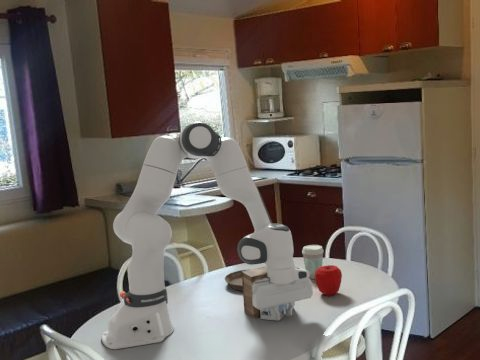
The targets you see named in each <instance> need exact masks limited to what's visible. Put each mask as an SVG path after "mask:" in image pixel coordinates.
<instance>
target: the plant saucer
mask: <svg viewBox="0 0 480 360" xmlns="http://www.w3.org/2000/svg"><path fill="white" fill-rule="evenodd" d="M250 269H251V268H250ZM250 269H249V268H248V269H242V270H237V271H233V272H231V273H228V274H227V275H226V276H224V280H225V283H227V285H228V286H229V287H231V288H233V289H235V290H237V291H242V292H243V285H242V271H246V270H250Z"/></svg>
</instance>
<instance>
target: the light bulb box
mask: <svg viewBox="0 0 480 360" xmlns="http://www.w3.org/2000/svg"><path fill="white" fill-rule="evenodd" d="M288 307H289V304H288V303H286V304H282V305H279V308H278V311H280V312H282V318H283V317H284V316H286V311H285V310H286V309H288ZM259 315H260V320H268V321H269V320H270V321H278V322H279V321H280V320H281V319H282V318H277V317H276V312H275V311H274V309H273V308H272V307H269V308H264V309H260V310H259Z"/></svg>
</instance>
